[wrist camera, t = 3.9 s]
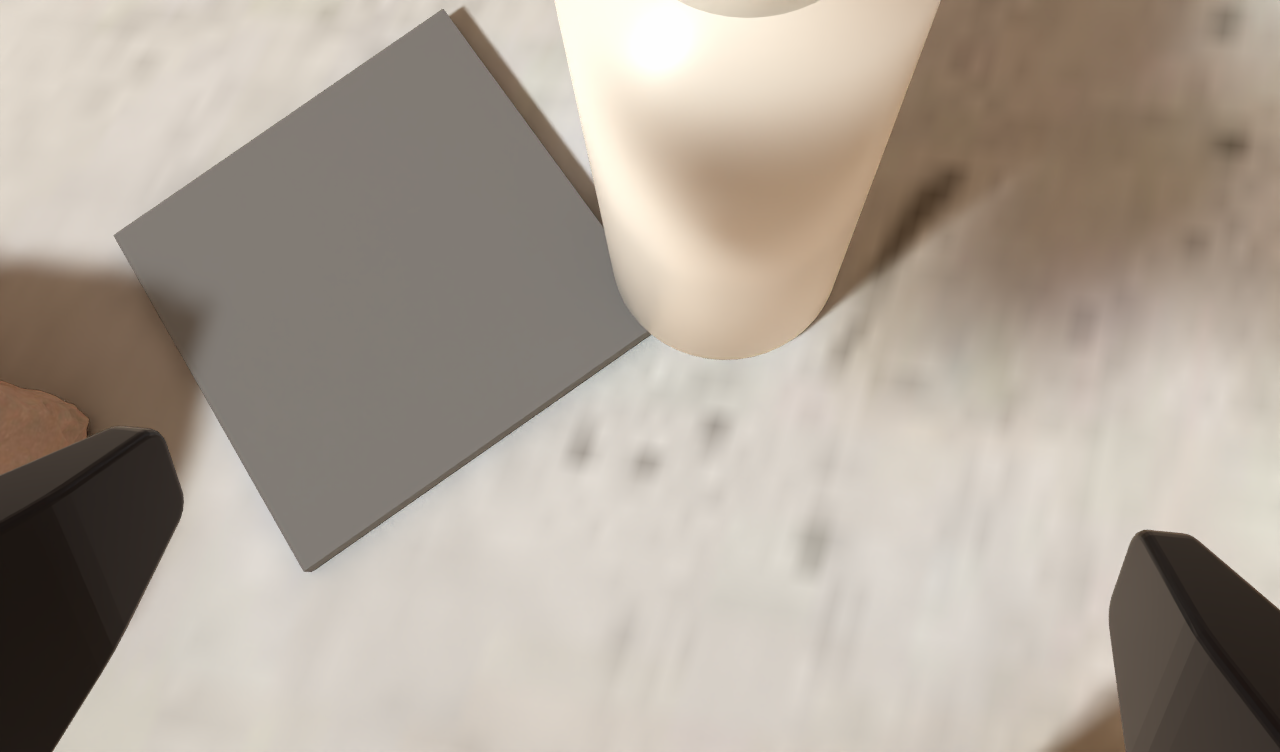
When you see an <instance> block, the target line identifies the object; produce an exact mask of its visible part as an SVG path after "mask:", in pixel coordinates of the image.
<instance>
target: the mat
mask: <svg viewBox="0 0 1280 752" xmlns="http://www.w3.org/2000/svg"><path fill="white" fill-rule="evenodd" d="M114 237H115V239H116V241H117V242H118V244H119V246H120V248H121V249H122V251H123V253H124V255H125V257H126V258H127V260H128V262H129V264H130V265H131V267H132V269H133V271H134V272H135V274H136V276H137V278H138V280H139V281H140V283H141V285H142V287H143V288H144V290H145V292H146V294H147V295H148V297H149V299H150V301H151V302H152V304H153V306H154V308H155V310H156V311H157V313H158V315H159V317H160V318H161V320H162V322H163V324H164V325H165V327H166V329H167V331H168V333H169V334H170V336H171V338H172V340H173V341H174V343H175V345H176V347H177V348H178V350H179V352H180V354H181V356H182V357H183V359H184V361H185V363H186V364H187V366H188V368H189V370H190V371H191V373H192V375H193V377H194V378H195V380H196V382H197V384H198V386H199V387H200V389H201V391H202V393H203V394H204V396H205V398H206V400H207V401H208V403H209V405H210V407H211V409H212V410H213V412H214V414H215V416H216V417H217V419H218V421H219V423H220V424H221V426H222V428H223V430H224V432H225V433H226V435H227V437H228V439H229V440H230V442H231V444H232V446H233V447H234V449H235V451H236V453H237V454H238V456H239V458H240V460H241V462H242V463H243V465H244V467H245V469H246V470H247V472H248V474H249V476H250V477H251V479H252V481H253V483H254V485H255V486H256V488H257V490H258V492H259V493H260V495H261V497H262V499H263V500H264V502H265V504H266V506H267V508H268V509H269V511H270V513H271V515H272V516H273V518H274V520H275V522H276V523H277V525H278V527H279V529H280V530H281V532H282V534H283V536H284V538H285V539H286V541H287V543H288V545H289V546H290V548H291V550H292V552H293V553H294V555H295V557H296V559H297V561H298V562H299V564H300V566H301V568H302V569H303V571H304V572H312V571H314V570H315V569H317V568H318V567H319V566H321V565H322V564H324V563H325V562H327V561H328V560H329V559H331V558H332V557H334V556H335V555H337V554H338V553H339V552H341V551H342V550H344V549H345V548H347V547H348V546H349V545H351V544H352V543H354V542H355V541H357V540H358V539H359V538H361V537H362V536H364V535H365V534H367V533H368V532H369V531H371V530H372V529H374V528H375V527H377V526H378V525H379V524H381V523H382V522H384V521H385V520H387V519H388V518H389V517H391V516H392V515H394V514H395V513H397V512H398V511H399V510H401V509H402V508H404V507H405V506H407V505H408V504H409V503H411V502H412V501H414V500H415V499H417V498H418V497H419V496H421V495H422V494H424V493H425V492H427V491H428V490H429V489H431V488H432V487H434V486H435V485H437V484H438V483H439V482H441V481H442V480H444V479H445V478H447V477H448V476H449V475H451V474H452V473H454V472H455V471H457V470H458V469H459V468H461V467H462V466H464V465H465V464H467V463H468V462H469V461H471V460H472V459H474V458H475V457H477V456H478V455H479V454H481V453H482V452H484V451H485V450H487V449H488V448H489V447H491V446H492V445H494V444H495V443H497V442H498V441H499V440H501V439H502V438H504V437H505V436H507V435H508V434H509V433H511V432H512V431H514V430H515V429H517V428H518V427H519V426H521V425H522V424H524V423H525V422H527V421H528V420H529V419H531V418H532V417H534V416H535V415H537V414H538V413H539V412H541V411H542V410H544V409H545V408H547V407H548V406H549V405H551V404H552V403H554V402H555V401H557V400H558V399H559V398H561V397H562V396H564V395H565V394H567V393H568V392H569V391H571V390H572V389H574V388H575V387H577V386H578V385H579V384H581V383H582V382H584V381H585V380H587V379H588V378H589V377H591V376H592V375H594V374H595V373H597V372H598V371H599V370H601V369H602V368H604V367H605V366H607V365H608V364H609V363H611V362H612V361H614V360H615V359H617V358H618V357H619V356H621V355H622V354H624V353H625V352H627V351H628V350H629V349H631V348H632V347H634V346H635V345H637V344H638V343H639V342H641V341H642V340H644V339H645V338H647V337H648V336H649V335H651V334H650V333H649V332H648V331H647V330H646V329H645V328H644V327H643V326H641V325H640V323H639V322H638V321H637V320H636V319H635V317H634V316H633V315H632V314H631V312H630V311H629V309H628V308H627V306H626V304H625V303H624V301H623V299H622V297H621V294H620V292H619V290H618V287H617V284H616V280H615V277H614V273H613V268H612V264H611V259H610V254H609V250H608V245H607V241H606V236H605V231H604V228H603V226H602V225H601V224H600V222H599V221H598V220H597V218H596V217H595V215H594V214H593V213H592V211H591V210H590V209H589V207H588V206H587V205H586V203H585V202H584V200H583V199H582V198H581V196H580V195H579V194H578V192H577V191H576V190H575V188H574V187H573V185H572V184H571V183H570V181H569V180H568V179H567V177H566V176H565V174H564V173H563V172H562V170H561V169H560V168H559V166H558V165H557V164H556V162H555V161H554V159H553V158H552V157H551V155H550V154H549V153H548V151H547V150H546V149H545V147H544V146H543V144H542V143H541V142H540V140H539V139H538V138H537V136H536V135H535V133H534V132H533V131H532V129H531V128H530V127H529V125H528V124H527V123H526V121H525V120H524V118H523V117H522V116H521V114H520V113H519V112H518V110H517V109H516V108H515V106H514V105H513V103H512V102H511V101H510V99H509V98H508V97H507V95H506V94H505V92H504V91H503V90H502V88H501V87H500V86H499V84H498V83H497V82H496V80H495V79H494V77H493V76H492V75H491V73H490V72H489V71H488V69H487V68H486V67H485V65H484V64H483V62H482V61H481V60H480V58H479V57H478V56H477V54H476V53H475V52H474V50H473V49H472V47H471V46H470V45H469V43H468V42H467V41H466V39H465V38H464V36H463V35H462V34H461V32H460V31H459V30H458V28H457V27H456V26H455V24H454V23H453V21H452V20H451V19H450V17H449V16H448V15H447V13H446V12H445V11H444V9H442V10H440V11H439V12H438V13H436V14H435V15H433V16H432V17H430V18H429V19H427V20H426V21H424V22H423V23H422V24H420V25H419V26H417V27H416V28H414V29H413V30H411V31H410V32H408V33H407V34H406V35H404V36H403V37H401V38H400V39H398V40H397V41H395V42H394V43H392V44H391V45H390V46H388V47H387V48H385V49H384V50H382V51H381V52H379V53H378V54H376V55H375V56H374V57H372V58H371V59H369V60H368V61H366V62H365V63H363V64H362V65H360V66H359V67H358V68H356V69H355V70H353V71H352V72H350V73H349V74H347V75H346V76H344V77H343V78H342V79H340V80H339V81H337V82H336V83H334V84H333V85H331V86H330V87H328V88H327V89H326V90H324V91H323V92H321V93H320V94H318V95H317V96H315V97H314V98H312V99H311V100H310V101H308V102H307V103H305V104H304V105H302V106H301V107H299V108H298V109H297V110H295V111H294V112H292V113H291V114H289V115H288V116H286V117H285V118H283V119H282V120H281V121H279V122H278V123H276V124H275V125H273V126H272V127H270V128H269V129H267V130H266V131H265V132H263V133H262V134H260V135H259V136H257V137H256V138H254V139H253V140H251V141H250V142H249V143H247V144H246V145H244V146H243V147H241V148H240V149H238V150H237V151H235V152H234V153H233V154H231V155H230V156H228V157H227V158H225V159H224V160H222V161H221V162H219V163H218V164H217V165H215V166H214V167H212V168H211V169H209V170H208V171H206V172H205V173H203V174H202V175H201V176H199V177H198V178H196V179H195V180H193V181H192V182H190V183H189V184H187V185H186V186H185V187H183V188H182V189H180V190H179V191H177V192H176V193H174V194H173V195H171V196H170V197H169V198H167V199H166V200H164V201H163V202H161V203H160V204H158V205H157V206H155V207H154V208H153V209H151V210H150V211H148V212H147V213H145V214H144V215H142V216H141V217H139V218H138V219H137V220H135V221H134V222H132V223H131V224H129V225H128V226H126V227H125V228H123V229H122V230H121V231H119V232H118V233H116V234H115V235H114Z"/></svg>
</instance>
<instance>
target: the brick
mask: <svg viewBox="0 0 1280 752" xmlns="http://www.w3.org/2000/svg"><path fill="white" fill-rule="evenodd" d="M88 422H89V418H87V417H86V416H85V415H84V414H83V413H82V412H80V411H79V410H78V409H77V407H76V406H75V405H74V404H70V403H66V402H64V401H63V400H61V399H59V398H58V397H57V396H54V395H52V394H49V393H46V392H43V391H39V390H30V389H23V388H19V387H17V386H15V385H12V384H10V383H7V382H4V381H0V475H2V474H4V473H6V472H9V471H11V470H13V469H16V468H18V467H20V466H23V465H25V464H27V463H30V462H32V461H34V460H37V459H39V458H41V457H43V456H46V455H48V454H50V453H53V452H55V451H57V450H60V449H62V448H64V447H67V446H69V445H71V444H74V443H76V442H78V441H81V440H83V439H85V438H87V432H86V429H87V426H88Z"/></svg>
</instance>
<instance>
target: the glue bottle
mask: <svg viewBox="0 0 1280 752" xmlns="http://www.w3.org/2000/svg"><path fill="white" fill-rule="evenodd" d="M554 1H555V6H556V10H557V15H558V19H559V24H560V29H561V33H562V38H563V42H564V47H565V52H566V56H567V61H568V65H569V70H570V75H571V79H572V84H573V88H574V93H575V98H576V102H577V107H578V112H579V116H580V121H581V125H582V130H583V135H584V139H585V144H586V148H587V153H588V158H589V162H590V167H591V171H592V176H593V181H594V185H595V190H596V194H597V199H598V204H599V208H600V213H601V217H602V222H603V227H604V231H605V236H606V241H607V245H608V250H609V254H610V259H611V264H612V268H613V273H614V277H615V280H616V284H617V287H618V290H619V292H620V294H621V297H622V299H623V301H624V303H625V304H626V306H627V308H628V309H629V311H630V312H631V314H632V315H633V316H634V317H635V319H636V320H637V321H638V322H639V323H640V325H641V326H643V327H644V328H645V329H646V330H647V331H648V332H649V333H650V334H651V335H653V336H654V337H656V338H657V339H659V340H660V341H661V342H663V343H665V344H666V345H668V346H670V347H672V348H674V349H676V350H679V351H681V352H684V353H687V354H690V355H693V356H698V357H702V358H707V359H717V360H734V359H743V358H749V357H754V356H757V355H761V354H764V353H767V352H769V351H772V350H774V349H776V348H779V347H781V346H782V345H784V344H786V343H787V342H789V341H791V340H792V339H794V338H795V337H796V336H798V335H799V334H800V333H801V332H803V331H804V330H805V329H806V328H807V327H808V326H809V325H810V324H811V323H812V322H813V321H814V320H815V318H816V317H817V316H818V314H819V313H820V312H821V310H822V309H823V307H824V306H825V304H826V302H827V300H828V298H829V296H830V294H831V291H832V289H833V286H834V283H835V281H836V278H837V275H838V273H839V270H840V267H841V265H842V262H843V259H844V257H845V254H846V252H847V249H848V246H849V244H850V241H851V238H852V236H853V233H854V230H855V228H856V225H857V222H858V220H859V217H860V214H861V212H862V209H863V206H864V204H865V201H866V198H867V196H868V193H869V190H870V188H871V185H872V182H873V180H874V177H875V174H876V172H877V169H878V166H879V164H880V161H881V158H882V156H883V153H884V150H885V148H886V145H887V143H888V140H889V137H890V135H891V132H892V129H893V127H894V124H895V121H896V119H897V116H898V113H899V111H900V108H901V105H902V103H903V100H904V97H905V95H906V92H907V89H908V87H909V84H910V81H911V79H912V76H913V73H914V71H915V68H916V65H917V63H918V60H919V57H920V55H921V52H922V49H923V47H924V44H925V41H926V39H927V36H928V34H929V31H930V28H931V26H932V23H933V20H934V18H935V15H936V12H937V10H938V7H939V4H940V2H941V0H554Z"/></svg>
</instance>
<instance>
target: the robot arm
mask: <svg viewBox="0 0 1280 752" xmlns="http://www.w3.org/2000/svg"><path fill="white" fill-rule="evenodd" d="M183 504H184V500H183V492H182V489H181V486H180V483H179V480H178V477H177V474H176V471H175V468H174V465H173V462H172V459H171V456H170V453H169V450H168V447H167V444H166V442H165V440H164V438H163V437H162V436H161V434H160V433H159V432H157V431H155V430H153V429H147V428H137V427H128V426H116V427H112V428H109V429H106V430H104V431H102V432H99V433H97V434H95V435H92V436H90V437H88V438H85V439H83V440H81V441H78V442H76V443H74V444H71V445H69V446H67V447H64V448H62V449H60V450H57V451H55V452H53V453H50V454H48V455H46V456H43V457H41V458H39V459H37V460H34V461H32V462H30V463H27V464H25V465H23V466H20V467H18V468H16V469H13V470H11V471H9V472H6V473H4V474H2V475H0V752H53V750H54V749H55V747H56V746H57V744H58V742H59V741H60V739H61V737H62V736H63V734H64V733H65V731H66V729H67V728H68V726H69V725H70V723H71V721H72V720H73V718H74V717H75V715H76V713H77V712H78V710H79V709H80V707H81V705H82V704H83V702H84V701H85V699H86V697H87V696H88V694H89V693H90V691H91V689H92V688H93V686H94V685H95V683H96V681H97V680H98V678H99V677H100V675H101V673H102V672H103V670H104V668H105V667H106V665H107V663H108V662H109V660H110V658H111V657H112V655H113V653H114V651H115V650H116V648H117V646H118V644H119V642H120V640H121V638H122V636H123V634H124V632H125V631H126V629H127V627H128V625H129V623H130V621H131V619H132V617H133V615H134V612H135V610H136V608H137V606H138V604H139V602H140V600H141V598H142V596H143V594H144V592H145V590H146V588H147V586H148V584H149V582H150V580H151V578H152V576H153V574H154V572H155V570H156V568H157V566H158V564H159V562H160V560H161V558H162V556H163V554H164V552H165V549H166V547H167V545H168V543H169V541H170V539H171V537H172V535H173V533H174V531H175V529H176V527H177V525H178V523H179V521H180V518H181V515H182V511H183ZM1109 629H1110V637H1111V645H1112V652H1113V660H1114V667H1115V675H1116V683H1117V690H1118V698H1119V705H1120V713H1121V721H1122V728H1123V736H1124V743H1125V751H1126V752H1280V610H1279V609H1278V608H1277V607H1276V606H1275V605H1274V604H1272V603H1271V602H1270V601H1269V600H1268V599H1266V598H1265V597H1264V596H1263V595H1262V594H1261V593H1259V592H1258V591H1257V590H1256V589H1255V588H1254V587H1252V586H1251V585H1250V584H1249V583H1248V582H1247V581H1245V580H1244V579H1243V578H1242V577H1241V576H1239V575H1238V574H1237V573H1236V572H1235V571H1234V570H1232V569H1231V568H1230V567H1229V566H1228V565H1227V564H1225V563H1224V562H1223V561H1222V560H1221V559H1220V558H1218V557H1217V556H1216V555H1215V554H1214V553H1213V552H1211V551H1210V550H1209V549H1208V548H1207V547H1205V546H1204V545H1203V544H1202V543H1201V542H1200V541H1198V540H1197V539H1195V538H1194V537H1193V536H1190V535H1188V534H1183V533H1174V532H1165V531H1155V530H1143V531H1140V532H1138V533H1136V535H1135V536H1134V537H1133V539H1132V540H1131V543H1130V545H1129V548H1128V551H1127V554H1126V556H1125V559H1124V562H1123V565H1122V568H1121V571H1120V574H1119V577H1118V580H1117V583H1116V585H1115V588H1114V591H1113V594H1112V597H1111V601H1110V607H1109Z"/></svg>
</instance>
